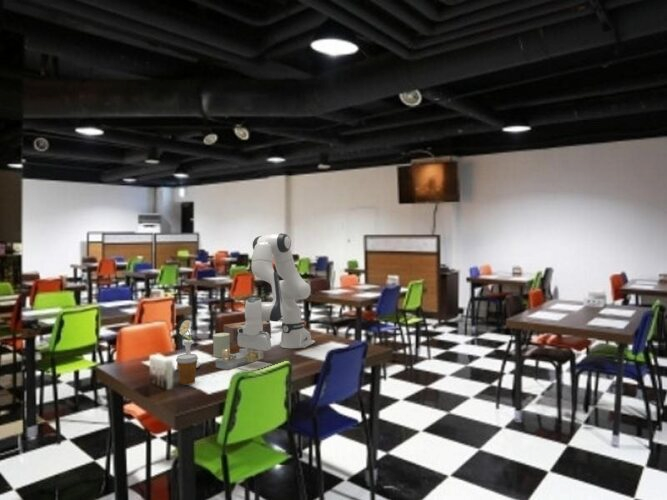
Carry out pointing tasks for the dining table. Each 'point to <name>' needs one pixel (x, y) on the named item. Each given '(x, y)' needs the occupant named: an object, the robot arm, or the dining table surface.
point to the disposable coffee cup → (187, 368)
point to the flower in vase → (187, 343)
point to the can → (220, 343)
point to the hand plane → (232, 359)
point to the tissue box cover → (234, 327)
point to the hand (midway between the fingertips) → (254, 357)
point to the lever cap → (253, 356)
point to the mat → (254, 366)
